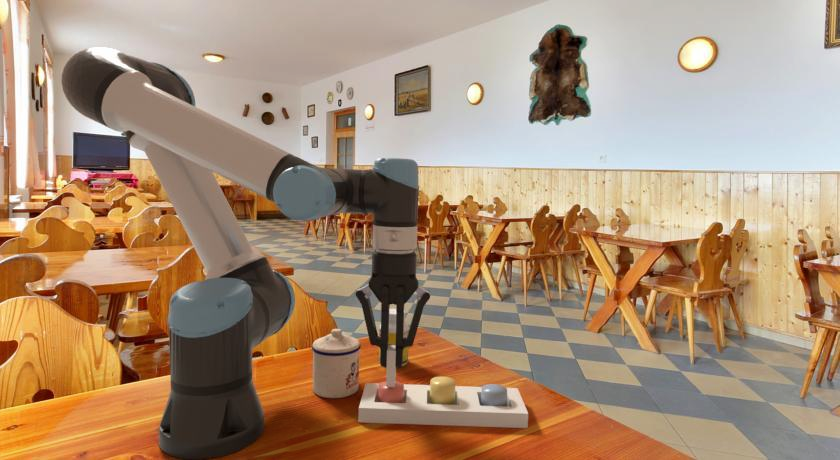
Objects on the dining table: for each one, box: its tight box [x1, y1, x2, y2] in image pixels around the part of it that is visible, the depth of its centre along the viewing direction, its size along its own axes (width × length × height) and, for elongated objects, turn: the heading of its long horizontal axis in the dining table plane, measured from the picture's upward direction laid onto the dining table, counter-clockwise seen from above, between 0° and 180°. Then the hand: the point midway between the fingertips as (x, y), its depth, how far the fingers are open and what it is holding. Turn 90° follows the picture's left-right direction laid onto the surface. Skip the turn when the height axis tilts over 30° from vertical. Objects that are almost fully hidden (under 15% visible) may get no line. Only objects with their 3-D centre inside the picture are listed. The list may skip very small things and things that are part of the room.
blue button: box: [480, 383, 507, 407], centre depth 87 cm, size 4×4×4 cm
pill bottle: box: [378, 308, 410, 367], centre depth 109 cm, size 6×6×12 cm
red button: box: [378, 380, 404, 403], centre depth 87 cm, size 4×4×4 cm
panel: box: [357, 382, 529, 429], centre depth 87 cm, size 28×10×2 cm, turn 89°
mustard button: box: [429, 376, 457, 405], centre depth 87 cm, size 4×4×4 cm
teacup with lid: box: [311, 328, 361, 399], centre depth 96 cm, size 12×9×12 cm
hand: (390, 383), depth 87 cm, fingers closed
